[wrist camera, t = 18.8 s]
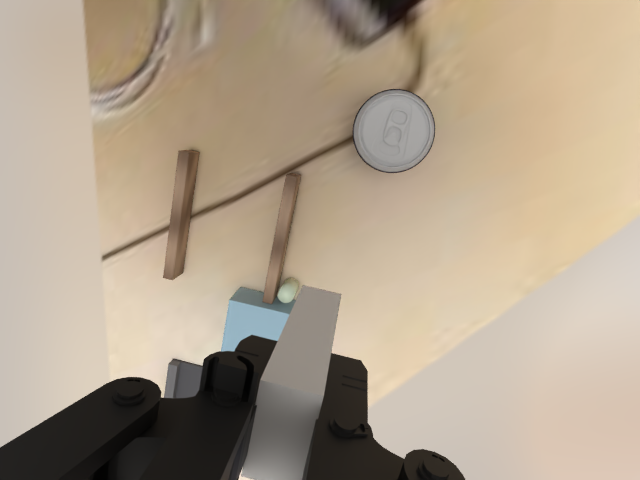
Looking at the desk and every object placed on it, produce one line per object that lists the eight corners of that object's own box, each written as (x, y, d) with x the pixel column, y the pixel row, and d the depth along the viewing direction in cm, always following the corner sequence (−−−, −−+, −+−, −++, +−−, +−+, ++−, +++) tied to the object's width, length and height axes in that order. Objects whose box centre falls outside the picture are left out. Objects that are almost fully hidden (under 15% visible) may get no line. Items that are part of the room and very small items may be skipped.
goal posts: (285, 276, 44) (279, 286, 41) (299, 279, 44) (295, 289, 41) (262, 387, 47) (255, 404, 44) (276, 391, 47) (270, 407, 44)
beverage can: (348, 154, 40) (341, 160, 29) (367, 95, 39) (367, 75, 27) (405, 172, 40) (420, 184, 29) (426, 113, 39) (451, 101, 27)
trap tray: (173, 358, 48) (168, 364, 46) (249, 378, 47) (246, 384, 46) (166, 410, 49) (161, 417, 48) (239, 430, 49) (236, 436, 48)
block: (241, 286, 45) (229, 299, 41) (304, 301, 45) (298, 316, 41) (231, 343, 47) (219, 362, 43) (292, 358, 46) (285, 378, 42)
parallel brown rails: (189, 150, 42) (178, 150, 40) (300, 175, 41) (296, 177, 39) (174, 270, 45) (163, 277, 43) (277, 295, 44) (271, 304, 42)
